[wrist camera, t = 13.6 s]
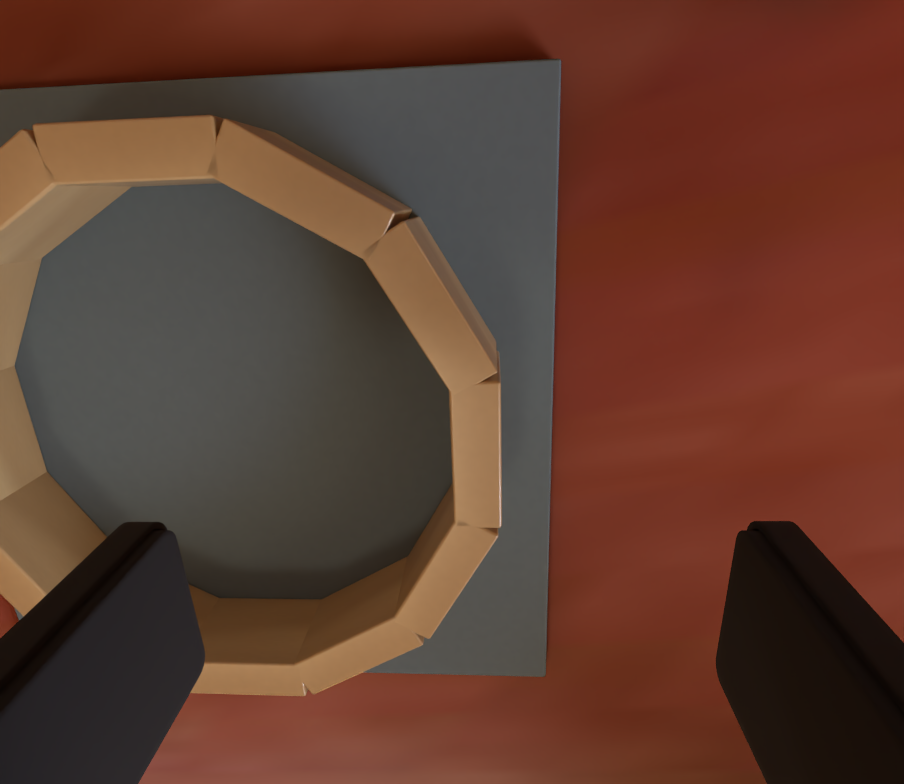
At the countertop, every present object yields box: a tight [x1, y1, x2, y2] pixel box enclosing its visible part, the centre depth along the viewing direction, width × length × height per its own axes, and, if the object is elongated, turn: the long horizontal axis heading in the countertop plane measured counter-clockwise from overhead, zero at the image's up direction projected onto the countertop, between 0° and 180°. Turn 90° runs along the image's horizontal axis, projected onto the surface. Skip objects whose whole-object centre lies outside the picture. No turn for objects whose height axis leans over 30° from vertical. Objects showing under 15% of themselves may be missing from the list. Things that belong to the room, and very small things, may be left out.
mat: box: [0, 59, 561, 677], centre depth 18 cm, size 20×20×1 cm
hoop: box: [0, 115, 502, 696], centre depth 16 cm, size 17×17×3 cm
